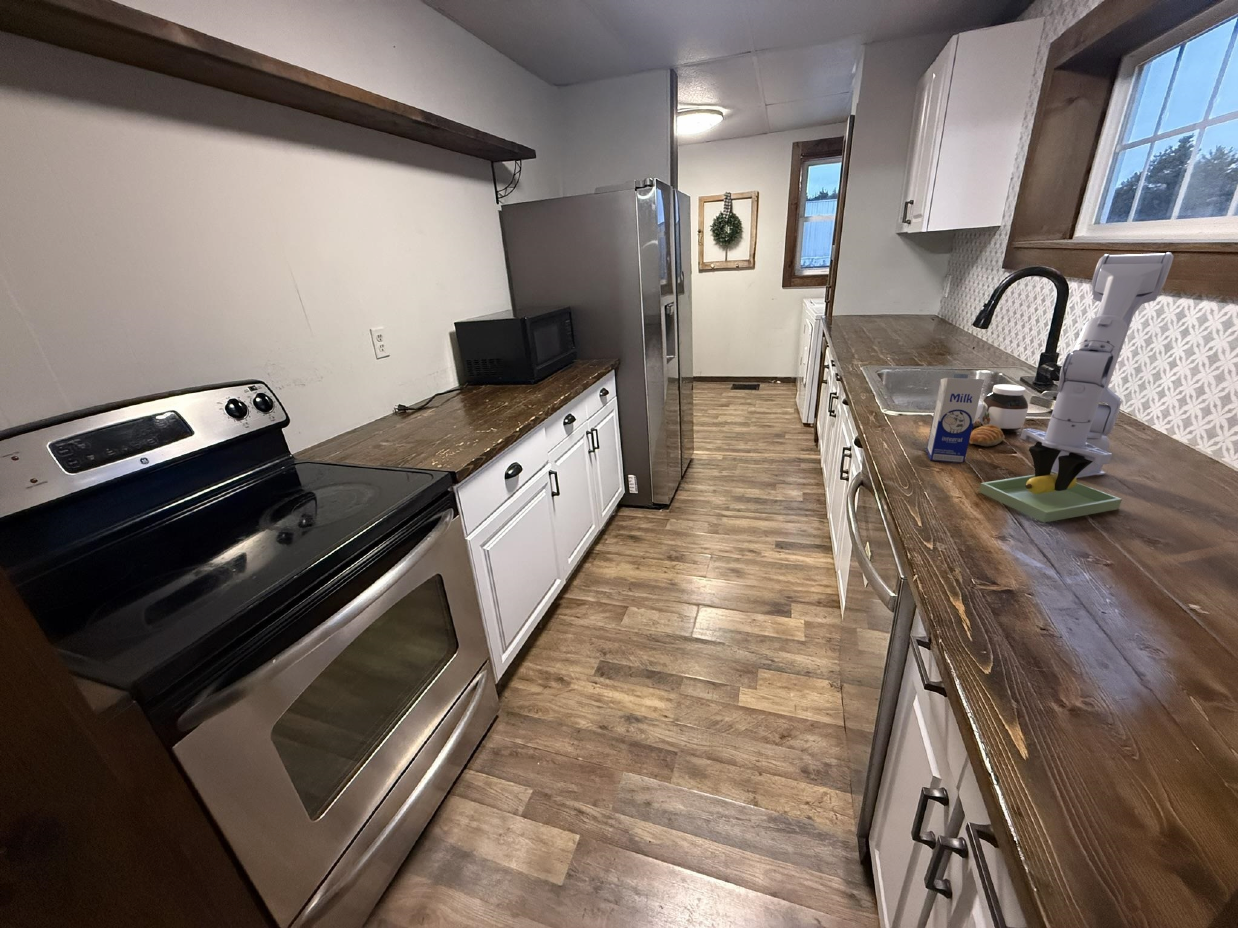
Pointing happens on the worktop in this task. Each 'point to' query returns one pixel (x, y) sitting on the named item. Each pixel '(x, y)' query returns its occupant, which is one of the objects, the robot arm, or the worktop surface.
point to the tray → (1049, 499)
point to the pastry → (986, 435)
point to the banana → (1044, 484)
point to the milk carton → (953, 418)
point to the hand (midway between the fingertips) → (1050, 485)
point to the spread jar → (1003, 408)
